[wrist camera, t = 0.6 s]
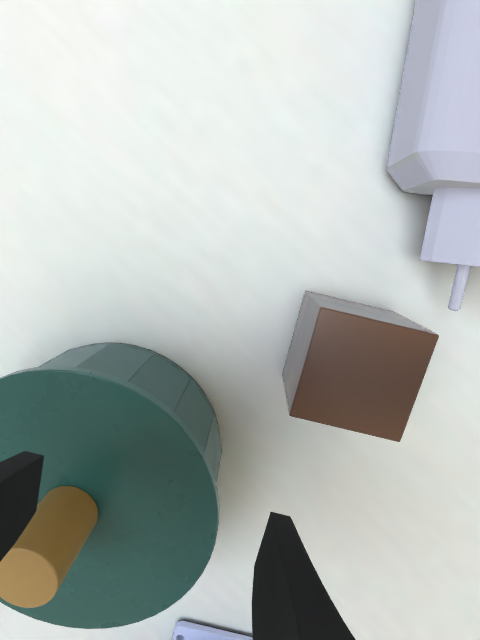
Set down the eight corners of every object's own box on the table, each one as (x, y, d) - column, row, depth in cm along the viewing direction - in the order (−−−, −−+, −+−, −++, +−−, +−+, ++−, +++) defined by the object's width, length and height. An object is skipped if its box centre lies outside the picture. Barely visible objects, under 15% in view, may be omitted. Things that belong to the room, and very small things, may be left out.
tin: (197, 547, 23) (180, 635, 18) (11, 502, 23) (-61, 578, 18) (241, 370, 21) (235, 414, 16) (30, 320, 21) (-47, 347, 15)
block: (367, 395, 21) (400, 443, 16) (281, 375, 21) (289, 416, 16) (394, 312, 20) (440, 335, 15) (305, 290, 20) (320, 306, 15)
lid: (189, 633, 19) (169, 751, 14) (-61, 573, 19) (-158, 673, 14) (250, 400, 16) (246, 461, 12) (-47, 330, 16) (-162, 363, 12)
